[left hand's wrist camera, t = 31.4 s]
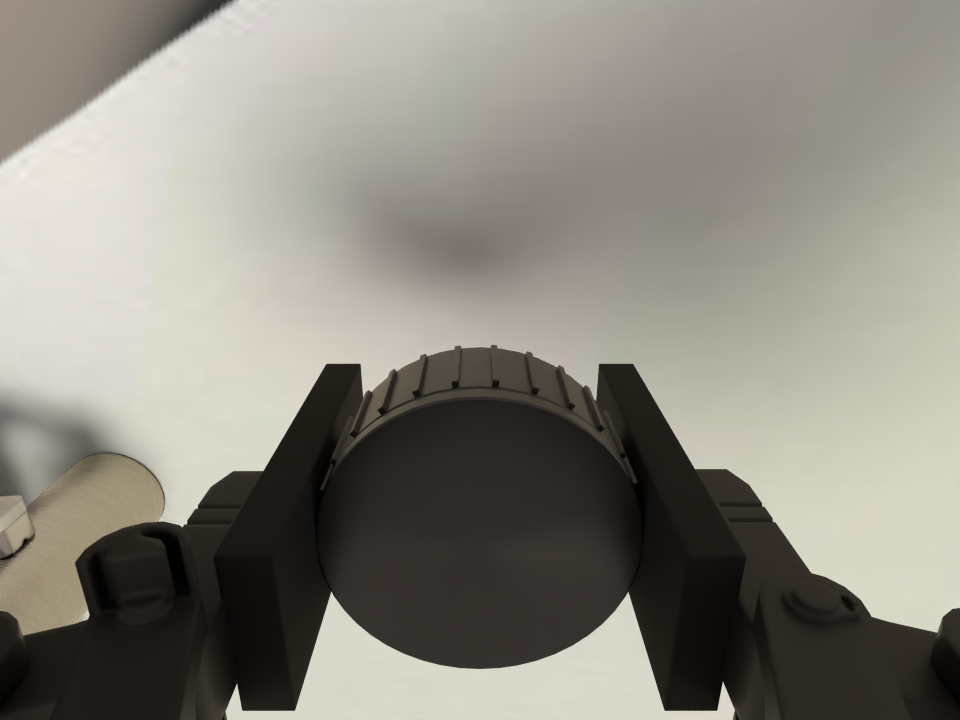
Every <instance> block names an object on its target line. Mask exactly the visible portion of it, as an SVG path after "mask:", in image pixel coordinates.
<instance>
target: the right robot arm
mask: <svg viewBox="0 0 960 720" xmlns="http://www.w3.org/2000/svg"><path fill="white" fill-rule="evenodd" d="M35 531H36V530H35V527H34V525H33V522H32V520H31V517H30V515H29V512H28V510H27V509H26V505H25V503H24V500H23V498H22V496H19V495H15V496H0V558H4V557H6V556H8V555H10V554H12V553H14V552H15V551H17V550H18V549H19V548H20V547H21V545H22V543H23V540H24V539H29V538H31V537H32V536H33V535H34V533H35Z"/></svg>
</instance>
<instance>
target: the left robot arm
mask: <svg viewBox="0 0 960 720" xmlns="http://www.w3.org/2000/svg"><path fill="white" fill-rule="evenodd" d="M362 400H363V391H362V378H361V364H326V366H325V367H324V369H323V371H322V373H321V374H320V376H319V378H318V379H317V381H316V383H315V384H314V386H313V388H312V390H311V391H310V393H309V395H308V396H307V398H306V400H305V401H304V403H303V405H302V407H301V408H300V410H299V412H298V413H297V415H296V417H295V419H294V420H293V422H292V424H291V425H290V427H289V429H288V430H287V432H286V434H285V436H284V437H283V439H282V441H281V442H280V444H279V446H278V447H277V449H276V451H275V453H274V454H273V456H272V458H271V459H270V461H269V463H268V464H267V466H266V468H265V470H264V471H233V472H232V473H230V474H229V475H227V476H226V477H224V478H223V479H222V480H220V481H219V482H217V483H216V484H215V485H213V486H212V487H211V488H210V489H209V491H208V492H207V493H206V495H205V496H204V498H203V499H202V500H201V502H200V503H199V505H198V509H195V510H194V512H193V513H192V515H191V516H190V518H189V519H188V520H187V525H184V526H183V528H182V527H181V526H180V525H176V524H172V523H167V522H146V523H141V524H136V525H132V526H128V527H124V528H121V529H119V530H117V531H115V532H112V533H110V534H108V535H106V536H103V537H102V538H100V539H99V540H97V541H96V542H95V543H93V544H92V545H90V546H89V547H88V548H86V549H85V550H84V551H83V553H82V554H81V555H80V557H79V558H78V559H77V560H76V562H75V566H76V569H77V573H78V576H79V580H80V583H81V586H82V590H83V593H84V597H85V600H86V604H87V607H88V610H89V614H90V616H89V619H88V620H85V621H82V622H79V623H75V624H72V625H67V626H63V627H58V628H54V629H50V630H45V631H41V632H36V633H32V634H28V635H23V634H22V631H21V628H20V625H19V623H18V620H17V619H16V618H15V617H13V616H12V615H11V614H10V613H8V612H5V611H0V720H227V717H226V712H225V711H226V709H227V706H228V704H229V701H230V699H231V697H232V694H233V692H234V689H235V687H236V685H238V690H239V695H240V700H241V706H242V711H295V709H296V706H297V702H298V699H299V696H300V692H301V689H302V686H303V683H304V679H305V676H306V673H307V669H308V666H309V663H310V660H311V656H312V653H313V650H314V646H315V643H316V640H317V637H318V633H319V630H320V627H321V623H322V620H323V617H324V614H325V610H326V607H327V604H328V600H329V597H330V594H331V589H330V588H329V586H328V584H327V582H326V580H325V577H324V575H323V572H322V569H321V566H320V563H319V558H318V550H317V541H316V529H315V525H316V517H317V509H318V506H319V502H320V499H321V496H322V495H320V488H321V485H322V483H323V480H324V478H325V476H326V473H327V471H328V468H329V466H330V460H331V458H332V455H333V453H334V451H335V448H336V446H337V444H338V441H339V439H340V436H341V434H342V432H343V429H344V427H345V424H346V422H347V420H348V418H349V416H352V417H354V415H355V414H356V412H357V411H358V409H359V408H360V405H361V403H362ZM596 402H597V404H598V405H599V407H600V408H601V410H602V411H605V410H607V411H608V413H609V415H610V417H611V419H612V422H613V424H614V427H615V429H616V431H617V434H618V436H619V438H620V440H621V443H622V445H623V448H624V450H625V452H626V455H627V457H628V459H629V462H630V464H631V467H632V469H633V471H634V474H635V476H636V479H637V481H638V484H639V488H636V490H637V493H638V496H639V500H640V503H641V507H642V511H643V519H644V537H643V546H642V555H641V562H640V566H639V568H638V571H637V574H636V577H635V579H634V582H633V583H632V585H631V587H630V589H629V591H628V592H629V595H630V598H631V602H632V605H633V608H634V611H635V615H636V618H637V621H638V625H639V628H640V631H641V634H642V638H643V641H644V644H645V648H646V651H647V654H648V657H649V661H650V664H651V667H652V671H653V674H654V677H655V681H656V684H657V687H658V690H659V694H660V697H661V700H662V704H663V707H664V710H665V711H717V709H718V704H719V698H720V693H721V688H722V683H723V682H724V685H725V687H726V690H727V692H728V694H729V697H730V699H731V701H732V704H733V706H734V709H735V712H734V717H733V720H960V608H957V609H952V610H951V611H950V612H949V613H947V614H946V615H945V616H944V617H943V618H942V621H941V624H940V627H939V630H938V633H935V632H931V631H927V630H922V629H918V628H913V627H909V626H904V625H900V624H896V623H891V622H887V621H884V620H880V619H877V618H873V617H871V615H870V613H869V612H868V610H867V609H866V607H865V606H864V604H863V603H862V601H861V600H860V599H859V598H858V597H856V596H855V595H854V594H853V593H851V592H850V591H849V590H848V589H847V588H845V587H844V586H842V585H840V584H838V583H836V582H834V581H832V580H830V579H828V578H826V577H823V576H819V575H816V574H812V573H811V572H810V571H809V569H808V568H807V566H806V565H805V564H804V562H803V561H802V559H801V558H800V557H799V555H798V554H797V552H796V551H795V549H794V548H793V547H792V545H791V544H790V542H789V541H788V540H787V538H786V537H785V535H784V534H783V532H782V531H781V530H780V528H779V527H778V525H777V524H776V523H775V522H773V518H772V517H771V515H770V514H769V513H768V511H767V510H766V508H765V507H762V503H761V501H760V500H759V498H758V497H757V496H756V494H755V493H754V491H753V490H752V489H751V487H750V486H749V485H748V484H747V483H745V482H744V481H743V480H741V479H740V478H738V477H737V476H735V475H734V474H733V473H731V472H730V471H728V470H727V469H694V467H693V465H692V463H691V462H690V460H689V458H688V457H687V455H686V453H685V452H684V450H683V448H682V446H681V445H680V443H679V441H678V440H677V438H676V436H675V435H674V433H673V431H672V429H671V428H670V426H669V424H668V423H667V421H666V419H665V417H664V416H663V414H662V412H661V411H660V409H659V407H658V406H657V404H656V402H655V400H654V399H653V397H652V395H651V394H650V392H649V390H648V389H647V387H646V385H645V383H644V382H643V380H642V378H641V377H640V375H639V373H638V372H637V370H636V368H635V366H634V365H633V364H599V373H598V386H597V399H596Z"/></svg>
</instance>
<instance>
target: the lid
mask: <svg viewBox="0 0 960 720" xmlns="http://www.w3.org/2000/svg"><path fill="white" fill-rule="evenodd" d="M636 488H639V484H638V481H637V479H636V476H635V474H634V471H633V469H632V467H631V464H630V462H629V459H628V457H627V455H626V452H625V450H624V448H623V445H622V443H621V440H620V438H619V436H618V434H617V431H616V429H615V427H614V424H613V422H612V419H611V417H610V415H609V413H608V411H607V410H605V411H602V410H601V408H600V407H599V405H598V404H597V402H596V401H595V400H594V398H593V395H592V393H591V390H590V388H589V387H588V386H587V385H586V386H585V387H582V386H581V385H580V384H579V383H578V382H577V381H575V380H574V379H573V378H572V377H571V376H569V375H568V374H566V373H565V370H564V368H563V367H562V366H560V365H559V366H558V367H555V366H553V365H551V364H549V363H547V362H545V361H542V360H540V359H538V358H535V357H533V355H532V353H530V352H526V354H523V353H520V352H515V351H510V350H504V349H497V345H491V348H482V347H479V348H462V349H461V346H455V350H450V351H445V352H440V353H437V354H434V355H431V356H428V357H427V355H426V354H424V355H421V356H420V360H417V361H415V362H413V363H411V364H409V365H407V366H405V367H403V368H402V369H400V370H398V371H397V372H396V370H395V369H393V370H392V371H390V373H389V376H388V378H387V379H386V380H384V381H383V382H382V383H381V384H380V385H378V386H377V387H376V388H375V389H374V390H373V392H370V391H369V390H368V391H367V392H366V393H365V395H364V398H363V400H362V403H361V405H360V408H359V409H358V411H357V412H356V414H355V415H354V417H352V416H349V418H348V420H347V422H346V424H345V427H344V429H343V432H342V434H341V436H340V439H339V441H338V444H337V446H336V448H335V451H334V453H333V455H332V458H331V460H330V466H329V468H328V471H327V473H326V476H325V478H324V480H323V483H322V485H321V488H320V495H322V496H321V499H320V502H319V506H318V509H317V517H316V525H315V529H316V541H317V550H318V558H319V563H320V566H321V569H322V572H323V575H324V577H325V580H326V582H327V584H328V586H329V588H330V589H331V591H332V593H333V595H334V597H335V598H336V599H337V601H338V602H339V604H340V605H341V606H342V608H343V609H344V610H345V611H346V612H347V614H348V615H349V616H350V617H351V618H352V619H353V620H354V621H355V622H356V623H357V624H358V625H359V626H361V627H362V628H363V629H364V630H366V631H367V632H368V633H369V634H370V635H372V636H373V637H375V638H376V639H378V640H380V641H381V642H383V643H384V644H386V645H387V646H390V647H392V648H394V649H396V650H398V651H400V652H402V653H404V654H406V655H409V656H412V657H414V658H417V659H420V660H423V661H427V662H431V663H435V664H438V665H444V666H450V667H457V668H471V669H489V668H503V667H509V666H516V665H521V664H525V663H529V662H533V661H537V660H540V659H542V658H545V657H548V656H551V655H554V654H556V653H558V652H560V651H562V650H564V649H566V648H568V647H570V646H572V645H574V644H575V643H577V642H579V641H580V640H582V639H583V638H585V637H586V636H588V635H589V634H590V633H592V632H593V631H594V630H595V629H597V628H598V627H599V626H600V625H602V624H603V623H604V622H605V621H606V620H607V618H608V617H609V616H610V615H611V614H612V613H613V612H614V611H615V610H616V609H617V607H618V606H619V604H620V603H621V602H622V600H623V599H624V598H625V596H626V594H627V593H628V591H629V589H630V587H631V585H632V583H633V582H634V579H635V577H636V574H637V571H638V568H639V566H640V562H641V555H642V546H643V537H644V519H643V511H642V507H641V503H640V500H639V496H638V493H637V490H636Z"/></svg>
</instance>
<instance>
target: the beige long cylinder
mask: <svg viewBox="0 0 960 720" xmlns="http://www.w3.org/2000/svg"><path fill="white" fill-rule="evenodd" d="M163 508H164V497H163V492H162V489H161V487H160V485H159V483H158V482H157V480H156V478H155V477H154V476H153V475H152V474H151V473H150V472H149V471H148V470H147V469H146V468H145V467H144V466H142V465H141V464H139V463H138V462H136V461H134V460H132V459H130V458H127V457H124V456H121V455H117V454H106V453H104V454H96V455H91V456H88V457H85V458H84V459H82V460H80V461H79V462H77V463H76V464H75V465H74V466H73V467H71V468H70V469H69V470H68V471H67V472H66V473H65V474H63V475H62V476H61V477H60V478H59V479H58V480H57V481H55V482H54V483H53V484H52V485H51V486H50V487H49V488H47V489H46V490H45V491H44V492H43V493H42V494H41V495H39V496H38V497H37V498H36V499H35V500H34V501H33V502H31V503H30V504H29V505H28V506H27V507H26V509H27V510H28V512H29V515H30V517H31V520H32V522H33V525H34V527H35V530H36V531H35V533H34V535H33V536H32V537H31V538H29V539H24V540H23V543H22V545H21V547H20V548H19V549H18V550H17V551H15V552H14V553H12V554H10V555H8V556H6V557H4V558H0V611H5V612H8V613H10V614H11V615H12V616H13V617H15V618H16V619H17V620H18V623H19V625H20V628H21V631H22V634H23V635H28V634H32V633H36V632H41V631H45V630H50V629H54V628H58V627H63V626H67V625H72V624H75V623H78V622H79V621H80V619H81V618H82V617H83V615H84V614H85V613H86V612H87V610H88V607H87V604H86V600H85V597H84V593H83V590H82V586H81V583H80V580H79V576H78V573H77V569H76V566H75V562H76V560H77V559H78V558H79V557H80V555H81V554H82V553H83V551H84V550H85V549H86V548H88V547H89V546H90V545H92V544H93V543H95V542H96V541H97V540H99V539H100V538H102V537H103V536H106V535H108V534H110V533H112V532H115V531H117V530H119V529H121V528H124V527H128V526H132V525H136V524H141V523H146V522H158V520H159V519H160V517H161V515H162V512H163Z"/></svg>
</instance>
